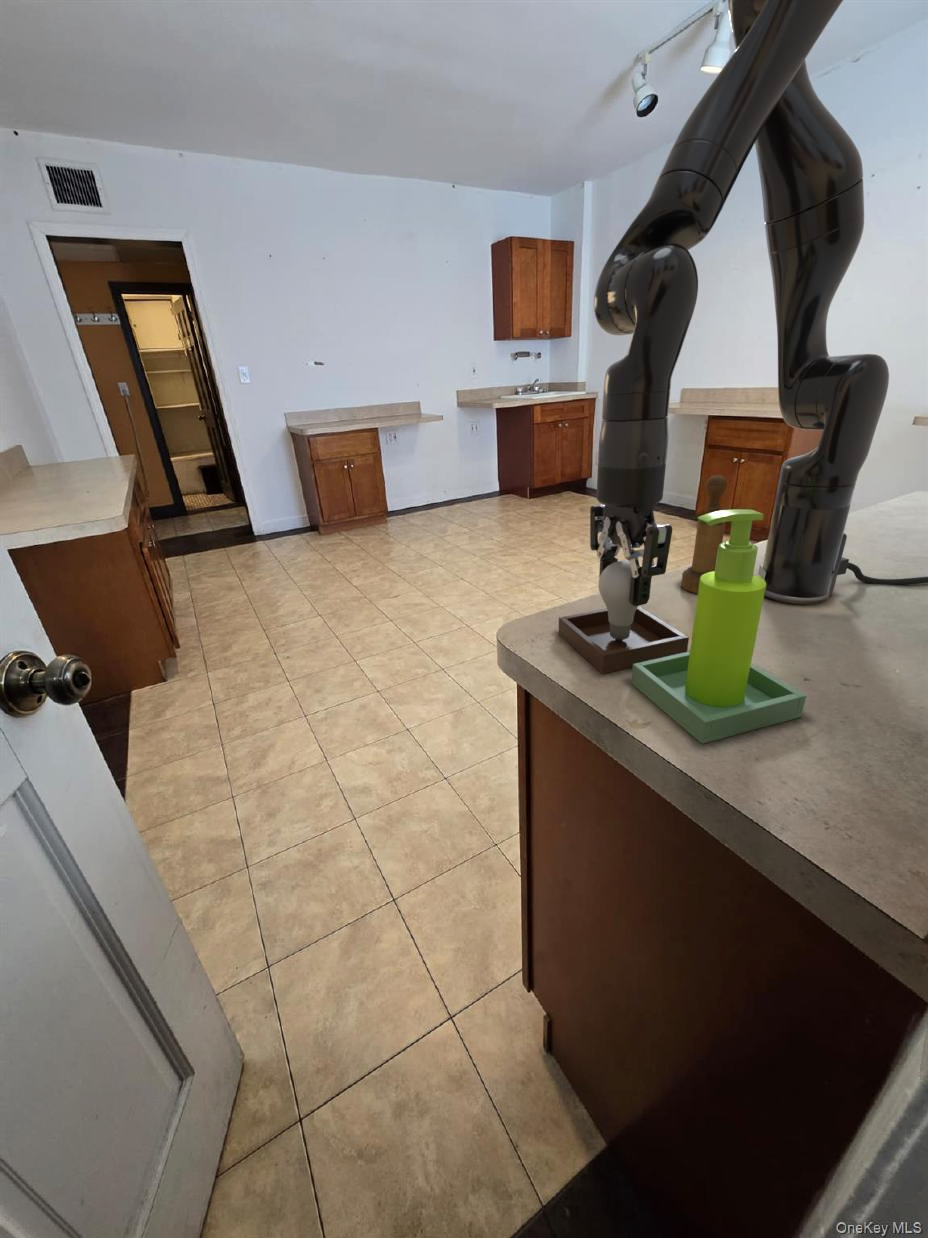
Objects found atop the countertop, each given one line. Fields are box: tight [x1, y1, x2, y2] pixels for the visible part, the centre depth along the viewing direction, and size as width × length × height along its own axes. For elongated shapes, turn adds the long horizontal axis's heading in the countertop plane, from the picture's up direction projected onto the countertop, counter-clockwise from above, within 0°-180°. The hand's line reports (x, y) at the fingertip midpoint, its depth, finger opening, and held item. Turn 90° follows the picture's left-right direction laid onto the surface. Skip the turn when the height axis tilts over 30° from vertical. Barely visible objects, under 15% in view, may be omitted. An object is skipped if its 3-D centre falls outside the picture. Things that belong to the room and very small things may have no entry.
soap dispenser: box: [685, 508, 766, 707], centre depth 52 cm, size 6×7×20 cm
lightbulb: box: [597, 560, 638, 641], centre depth 66 cm, size 6×6×11 cm
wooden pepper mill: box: [680, 475, 728, 594], centre depth 81 cm, size 7×6×18 cm
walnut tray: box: [558, 605, 690, 675], centre depth 68 cm, size 12×12×3 cm
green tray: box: [631, 650, 807, 744], centre depth 56 cm, size 12×12×3 cm
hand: (622, 593), depth 66 cm, fingers open, 6 cm apart
